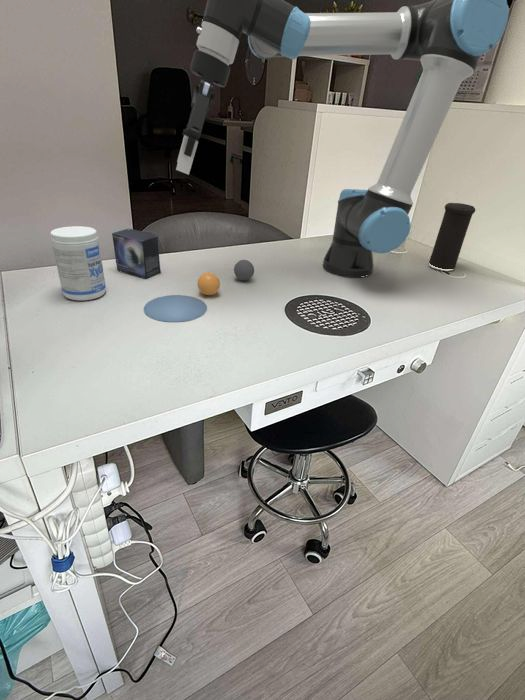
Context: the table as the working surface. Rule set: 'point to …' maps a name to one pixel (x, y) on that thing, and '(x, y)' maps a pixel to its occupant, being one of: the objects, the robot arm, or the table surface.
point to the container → (451, 235)
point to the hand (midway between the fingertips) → (182, 168)
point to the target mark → (175, 308)
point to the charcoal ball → (244, 270)
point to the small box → (136, 253)
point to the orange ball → (208, 283)
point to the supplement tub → (78, 262)
